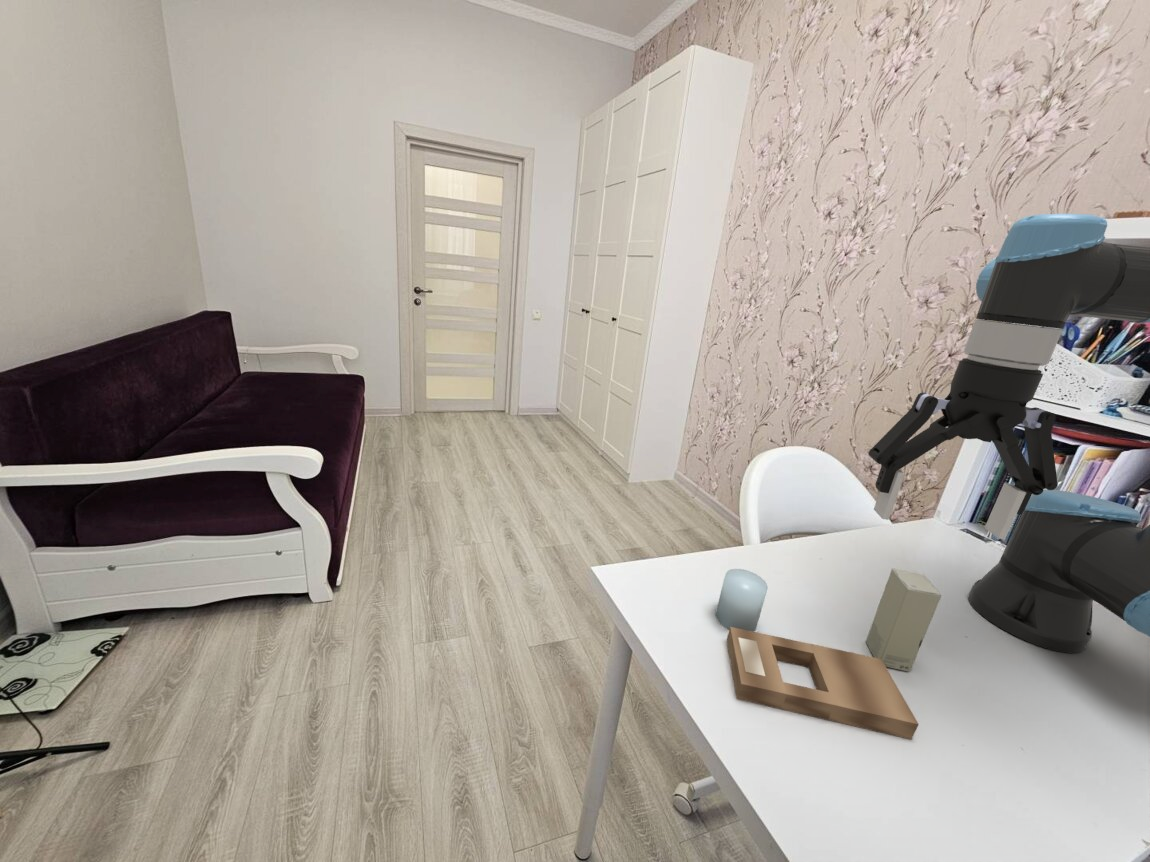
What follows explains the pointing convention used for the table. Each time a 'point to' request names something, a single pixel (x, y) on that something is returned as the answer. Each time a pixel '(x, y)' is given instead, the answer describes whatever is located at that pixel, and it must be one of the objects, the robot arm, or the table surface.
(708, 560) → the table surface
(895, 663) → the box
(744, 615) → the pale blue capsule
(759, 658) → the brown flat wooden slab
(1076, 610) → the robot arm
